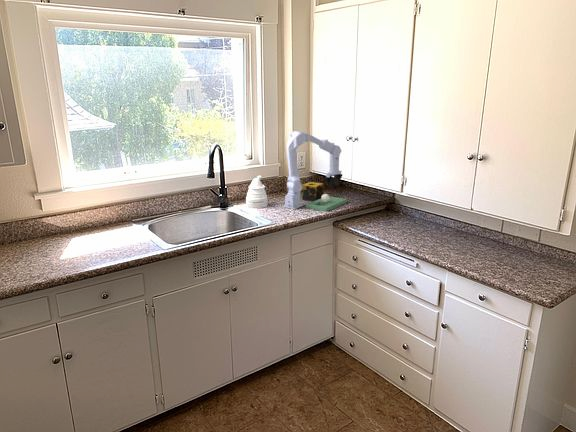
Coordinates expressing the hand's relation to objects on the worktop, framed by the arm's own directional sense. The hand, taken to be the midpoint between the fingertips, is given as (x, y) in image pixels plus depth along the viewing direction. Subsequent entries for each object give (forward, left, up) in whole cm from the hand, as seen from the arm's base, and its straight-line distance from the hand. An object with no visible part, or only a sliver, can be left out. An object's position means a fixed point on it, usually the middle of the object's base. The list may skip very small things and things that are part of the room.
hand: (333, 186), depth 263 cm
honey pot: (-34, +33, -10) cm, 48 cm away
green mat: (-9, -1, -9) cm, 13 cm away
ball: (-10, 0, -5) cm, 11 cm away
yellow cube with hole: (-3, +13, -10) cm, 17 cm away
